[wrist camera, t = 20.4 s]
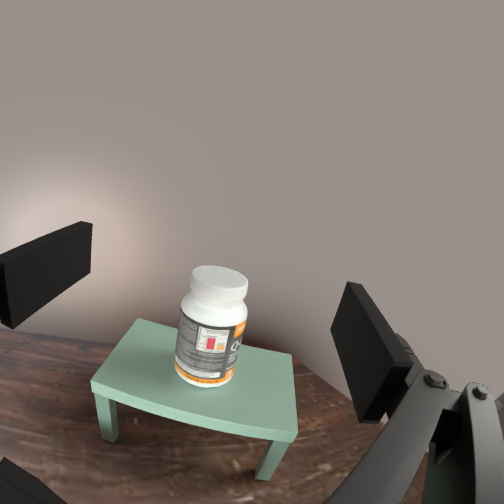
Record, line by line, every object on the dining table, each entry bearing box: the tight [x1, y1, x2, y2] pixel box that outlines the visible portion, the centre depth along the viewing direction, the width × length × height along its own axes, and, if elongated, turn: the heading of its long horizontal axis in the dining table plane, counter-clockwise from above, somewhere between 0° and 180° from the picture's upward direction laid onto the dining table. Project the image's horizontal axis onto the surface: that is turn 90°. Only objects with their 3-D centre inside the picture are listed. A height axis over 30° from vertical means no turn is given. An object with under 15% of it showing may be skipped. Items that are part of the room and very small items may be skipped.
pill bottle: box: [174, 266, 248, 388], centre depth 26 cm, size 6×6×10 cm
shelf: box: [91, 318, 298, 481], centre depth 29 cm, size 18×12×9 cm, turn 87°
